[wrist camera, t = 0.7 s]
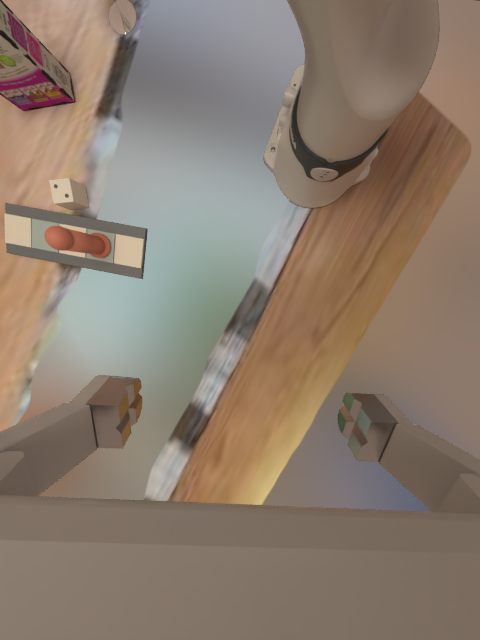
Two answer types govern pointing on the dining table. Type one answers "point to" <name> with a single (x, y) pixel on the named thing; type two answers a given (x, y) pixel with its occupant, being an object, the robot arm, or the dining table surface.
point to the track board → (32, 223)
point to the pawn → (78, 241)
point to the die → (69, 194)
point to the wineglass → (122, 16)
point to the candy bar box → (29, 67)
